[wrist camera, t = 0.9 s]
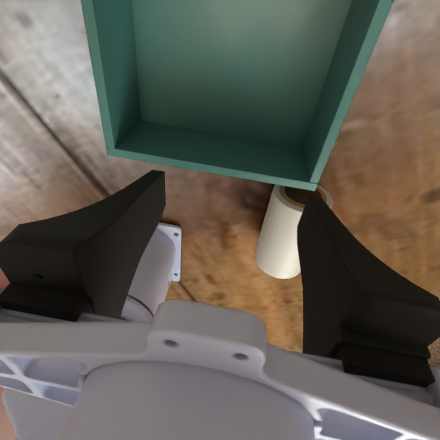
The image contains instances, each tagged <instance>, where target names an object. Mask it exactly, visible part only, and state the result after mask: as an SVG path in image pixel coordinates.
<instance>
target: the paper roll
mask: <svg viewBox="0 0 440 440" xmlns="http://www.w3.org/2000/svg"><path fill="white" fill-rule="evenodd" d="M309 195H310V196H316V197H322V199H323V200H324V201H325V202H326V204H327V205H328V206H329V207H330V209H331V208H332V205H333V200H332V197H331V195H330V194H329V193H328V192H327V191H326V190H325V189H324V188H322V187H321V186H319V185H317V187H316V190H315V191H312V190H306V189H300V188H294V187H289V186H283V185H277V184H275V185H274V187H273V191H272V194H271V197H270V201H269V204H268V208H267V211H266V215H265V218H264V222H263V225H262V228H261V232H260V235H259V239H258V242H257V246H256V249H255V253H254V257H255V261H256V263H257V265H258V266H259V268H260V269H261V270H262V271H264V272H265V273H267V274H268V275H270V276H273V277H276V278H281V279H288V278H292V277H294V276H296V275H298V274H299V273H300V271H301V269H300V262H299V255H298V248H297V225H298V223H299V220H300V217H301V215H302V212H303V210H304V207H305V204H306V202H307V199H308V197H309Z"/></svg>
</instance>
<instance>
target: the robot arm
mask: <svg viewBox="0 0 440 440" xmlns="http://www.w3.org/2000/svg"><path fill="white" fill-rule="evenodd" d="M165 205H166V200H165V172H163V171H156V170H152V171H150V172H148V173H147V174H145V175H144V176H142V177H141V178H139V179H138V180H136V181H135V182H133V183H132V184H130V185H128V186H127V187H125V188H124V189H122V190H120V191H118V192H117V193H115V194H113V195H111V196H109V197H107V198H105V199H103V200H101V201H99V202H97V203H95V204H92V205H90V206H87V207H84V208H82V209H79V210H76V211H73V212H70V213H67V214H64V215H60V216H57V217H53V218H49V219H45V220H40V221H35V222H30V223H25V224H19V225H18V226H17V227H16V228H15V229H14V230H13V231H12V232H11V233H10V234H8V235H7V236H6V237H5V238H4V239H3V240H2V241H1V242H0V268H1V269H2V271H3V272H4V274H5V276H6V277H7V278H8V280H9V282H10V284H9V285H8V286H7V287H6V288H5V289H2V288H0V386H1V387H4V389H5V390H4V392H3V394H2V401H3V404H4V407H5V409H6V411H7V413H8V416H9V419H10V421H11V423H12V426H13V428H14V431H15V434H16V437H17V438H16V439H15V440H440V367H434V368H430V366H429V364H428V361H427V359H429V358H431V354H430V352H429V350H428V347H427V346H429V345H430V344H431V343H433V342H434V341H435V340H437V339H438V338H439V337H440V301H439V299H438V297H436V296H435V295H433V294H431V293H429V292H428V291H426V290H424V289H422V288H421V287H419V286H417V285H415V284H414V283H412V282H410V281H409V280H407V279H406V278H404V277H403V276H401V275H400V274H398V273H397V272H395V271H394V270H392V269H391V268H390V267H388V266H387V265H386V264H384V263H383V262H382V261H380V260H379V259H378V258H377V257H375V256H374V255H373V254H372V253H371V252H370V251H369V250H367V249H366V248H365V247H364V246H363V245H362V244H361V243H360V242H359V241H358V240H357V239H356V238H355V237H354V236H353V235H352V234H351V233H350V232H349V231H348V230H347V228H346V227H345V226H344V225H343V224H342V223H341V221H340V220H339V219H338V218H337V216H336V215H335V214H334V213H333V211H332V210H331V209H330V207H329V206H328V205H327V204H326V202H325V201H324V200H323V199H322V197H316V196H310V195H309V197H308V199H307V202H306V204H305V207H304V210H303V212H302V215H301V217H300V220H299V223H298V225H297V248H298V255H299V262H300V269H301V276H302V285H303V353H299V352H294V351H288V350H285V349H282V348H280V347H277V346H275V345H272V344H269V343H267V342H266V325H265V323H264V322H263V321H262V320H261V319H260V318H258V317H257V316H256V315H254V314H251V313H249V312H246V311H242V310H236V309H231V308H225V307H220V306H214V305H209V304H203V303H198V302H192V301H187V300H169V301H166V302H164V301H165V298H166V295H167V292H168V289H169V286H170V283H171V281H176V282H177V281H179V280H180V267H181V233H182V229H181V227H179V226H177V225H171V224H166V223H160V219H161V217H162V214H163V211H164V208H165ZM176 233H178V234H176Z"/></svg>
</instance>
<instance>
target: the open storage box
mask: <svg viewBox="0 0 440 440" xmlns="http://www.w3.org/2000/svg"><path fill="white" fill-rule="evenodd" d="M393 1H394V0H81V4H82V10H83V16H84V21H85V27H86V33H87V39H88V45H89V51H90V56H91V62H92V68H93V74H94V80H95V86H96V91H97V97H98V103H99V109H100V115H101V121H102V126H103V132H104V138H105V144H106V150H107V155H111V156H116V157H122V158H128V159H134V160H139V161H145V162H151V163H157V164H162V165H168V166H174V167H180V168H185V169H191V170H197V171H203V172H208V173H214V174H220V175H226V176H231V177H237V178H243V179H248V180H254V181H260V182H266V183H271V184H277V185H283V186H289V187H294V188H300V189H306V190H312V191H315V190H316V187H317V185H318V182H319V180H320V177H321V175H322V172H323V170H324V168H325V165H326V163H327V160H328V158H329V155H330V153H331V151H332V148H333V146H334V143H335V141H336V139H337V136H338V134H339V131H340V129H341V126H342V124H343V122H344V119H345V117H346V114H347V112H348V109H349V107H350V105H351V102H352V100H353V97H354V95H355V93H356V90H357V88H358V85H359V83H360V80H361V78H362V76H363V73H364V71H365V68H366V66H367V64H368V61H369V59H370V56H371V54H372V51H373V49H374V47H375V44H376V42H377V39H378V37H379V35H380V32H381V30H382V27H383V25H384V22H385V20H386V18H387V15H388V13H389V10H390V8H391V5H392V3H393Z"/></svg>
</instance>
